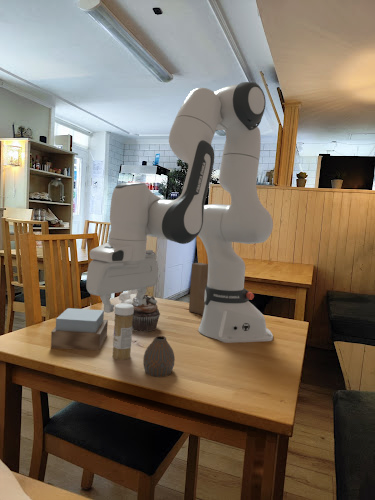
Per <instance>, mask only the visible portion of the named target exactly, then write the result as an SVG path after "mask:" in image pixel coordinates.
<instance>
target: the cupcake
mask: <svg viewBox="0 0 375 500" xmlns="http://www.w3.org/2000/svg"><path fill="white" fill-rule="evenodd" d="M134 298H136V296H135V297H134ZM157 303H158V300H157V299H156V298H155V297H154V296H148V294H145V295H144V297H143V299H142V305H140V306H135V305H133V303H132V305H133V306H134V313H133V319H132V331H135V332H145V333H147V332H152V331H155V330H157V326H158V322H159V319H160V316H161V312H160V310H159V309H158V305H157Z"/></svg>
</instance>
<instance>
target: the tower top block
mask: <svg viewBox="0 0 375 500" xmlns="http://www.w3.org/2000/svg"><path fill="white" fill-rule="evenodd" d="M104 318H105V312H104V309H89V308H88V309H86V308H71V307H68V308H66V309H65V310H64V311H63V312H62V313H61V314H59V315H58V317H56V318H55V327H56V330H60V331H76V332H92V333H96V331H97V330H98V328H99V327H100V325H101V324H102V322H103V320H105V319H104Z"/></svg>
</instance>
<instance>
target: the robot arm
mask: <svg viewBox="0 0 375 500" xmlns="http://www.w3.org/2000/svg"><path fill="white" fill-rule="evenodd" d="M265 109H266V96H265V92H264V91H263V89H262V88H261V86H260V85H259V84H258V83H256V82H251V81H245V82H244V81H242V82H240V83H238V84H232V85H228V86H224V87H221V88H220V89H218V90H216V91H213V90H212V89H210V88H207V87H206V88H205V87H197V88H195V89H193V90H191V91H190V93H189V94H188V95H187V96H186V98H185V99H184V101H183V102H182V105H181V106H180V108H179V110H178V112H177V114H176V116H175V118H174V120H173V123H172V125H171V128H170V130H169V131H170V132H169V136H168V143H169V147H170V149H171V150H172V152H173V154H174V155H175V156H176V157H178V159H179V160H180V161H183V162H184V163H186V164H187V165H188V168H187V171H186V176H185V180H184V184H183V187H182V191H181V194H180V195H179V196H178V197H177V198H176V199H165V198H164V199H163V198H162V197H160V196H158V195H156V194H155V193H153V192H152V191H151V189H149V187H148V185H147V183H144V182H140V181H136V182H131V181H130V182H122V183H121V182H120V183H118V184H117V185H116V186H115V187H114V189H113V190H112V191H113V192H112V194H111V200H110V209H109V223H110V231H109V233H108V242H104V243H103V244H101V245H99V246H97V247H94V248H91V250H90V251H89V258H90V259H91V261H90V262H89V263H88V267H87V271H86V272H87V274H86V284H85V285H86V286H85V287H86V290H87V292H88V293H89V294H90V295H93V296H97V297H99V298H100V300H101V302H102V303H103V310H104V313H107V314H109V313H113V312H114V310H115V304H113V303H112V302H111V299H112V294H116V293H117V294H118V293H123V292H129V291H131V290H135V289H137V291H138V292H137V293H136V295H135V297H136V298H135V297H133V299H132V300H133V301H134V302H133V305H135V306H140V305H142V299H143V297H144V295H146V294H147V288H151V287H155V286H157V283H158V282H159V271H158V270H159V267H158V261H157V254H156V253H155V251H154V250H152V249H147V242H148V241H147V240H148V238H147V237H148V236H149V237H150V238H151V237H153V238H157V239H162V240H169V241H171V242H174V243H178V244H181V245H185V244H190V243H192V241H194V240H195V239H196V238H197V237H198V238H199V239H200V240H201V242H202V244H203V246H204V249H205V252H206V255H207V257H206V258H207V264H208V278H207V285H206V289H205V296H204V302H205V308H204V313H203V315H202V318H201V320H200V325H199V327H198V332H199V333H200V334H201V335H203V336H204V337H205V336H206V337H208V338H212V339H215V340H218V341H220V342H221V343H231V344H233V343H254V342H255V343H256V342H258V343H259V342H271V341H273V339H274V335H273V333H272V331H271V330H270V329H269V328H268V327H267V323H266V319H265V316H264V314H263V313H262V312H261V311H260V310H259V309H258V308H257V307H256V306H255V305H254V304H253V303H251V302H250V301H249V300H251V301H252V300H253V299H254V297H255V294H254V293H252V291H249V290H247V289H246V288H245V287H244V286H245V277H246V276H245V275H246V264H245V261H244V259H243V258H242V257H241V256H239V255H238V253H237V254H236V252H235V250H234V248H233V243H238V244H245V245H251V244H262V243H264V242H266V241H267V240H268V239H269V237H270V236H271V234H272V232H273V228H274V221H273V218H272V215H271V213H270V212H269V210H268V209H266V208H265V207H264V205H263V204H262V203H261V201H260V198H259V196H258V195H259V194H258V189H257V181H258V172H259V165H260V164H259V163H260V156H261V144H262V143H261V130H260V128H259V126H260V124H261V121H262V119H263V117H264V113H265ZM217 131H224V134H225V142H224V144H223V145H224V146H223V150H222V155H221V162H220V169H219V176H218V183H219V184H220V186H221V188H222V189H223V190H224V191H225V192H227V193H229V194H230V204H222V203H210V204H206V199H207V195H208V190H209V187H210V182H211V178H212V174H213V169H214V163H215V151H214V148H213V147H214V146H212V142H213V139H214V135H215V134H216V132H217Z"/></svg>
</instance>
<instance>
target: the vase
mask: <svg viewBox="0 0 375 500" xmlns="http://www.w3.org/2000/svg"><path fill="white" fill-rule="evenodd" d="M175 361H176V360H175V352H174V350H173V348H172V347H171V345H170V344H169V342H168V340H167V337H165V336H164V335H156V336H154V338H153V340H152V341H151V343H150V344H149V345H148V347H146V349H145V352H144V354H143V363H142V364H143V368H144V371H145V373H146V374H147V375H149V376H152V377H161V378H162V377H166V376H170V375H171V373H172V371H173V369H174V367H175Z"/></svg>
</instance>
